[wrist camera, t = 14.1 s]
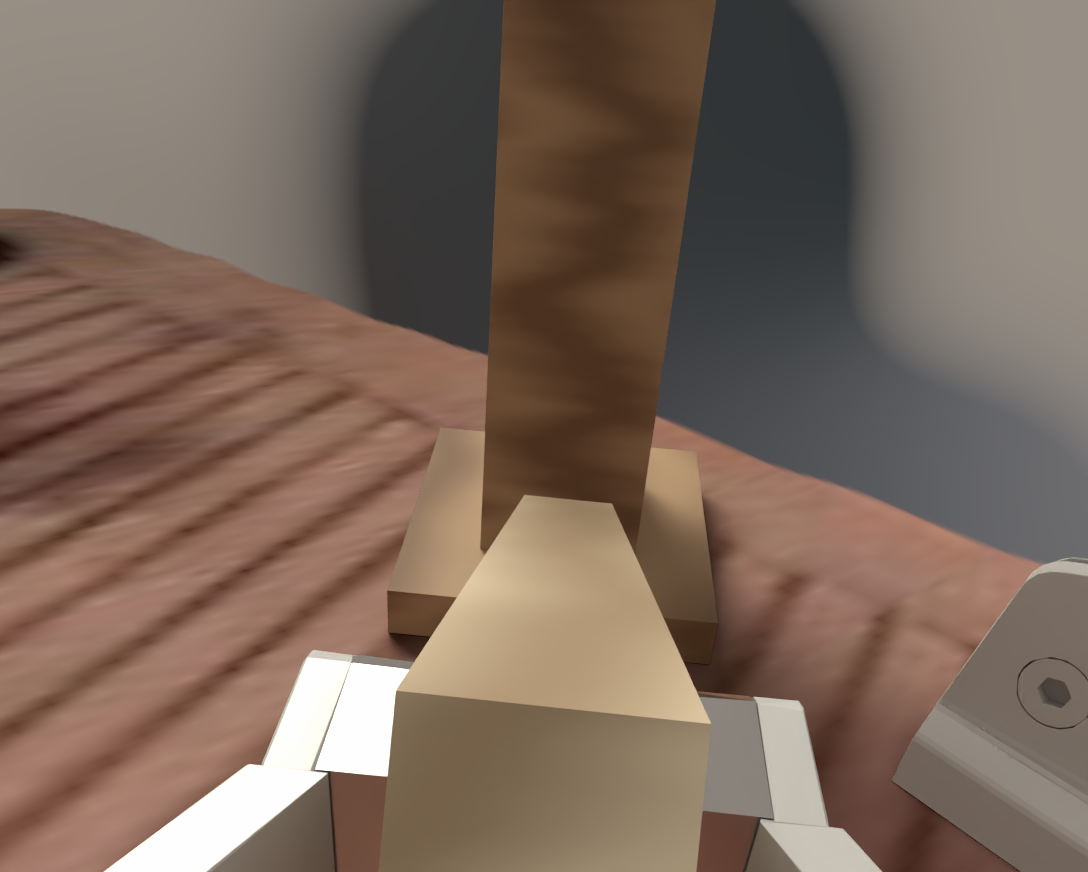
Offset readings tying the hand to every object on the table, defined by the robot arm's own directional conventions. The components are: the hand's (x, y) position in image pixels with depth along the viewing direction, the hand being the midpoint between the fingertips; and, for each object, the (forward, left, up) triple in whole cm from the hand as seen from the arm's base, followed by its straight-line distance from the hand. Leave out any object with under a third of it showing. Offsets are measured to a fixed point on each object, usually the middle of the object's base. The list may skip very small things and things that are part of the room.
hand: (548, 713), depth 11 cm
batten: (0, +4, -5) cm, 6 cm away
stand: (0, +25, -17) cm, 30 cm away
